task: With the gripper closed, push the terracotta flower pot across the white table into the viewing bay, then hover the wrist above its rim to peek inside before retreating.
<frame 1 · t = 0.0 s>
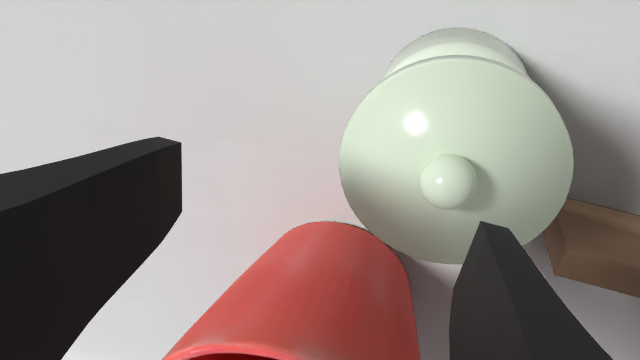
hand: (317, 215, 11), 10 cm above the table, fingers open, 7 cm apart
flower pot: (338, 278, 25), on the table
green jar: (451, 103, 19), on the table
viewing bay: (588, 354, 23), on the table
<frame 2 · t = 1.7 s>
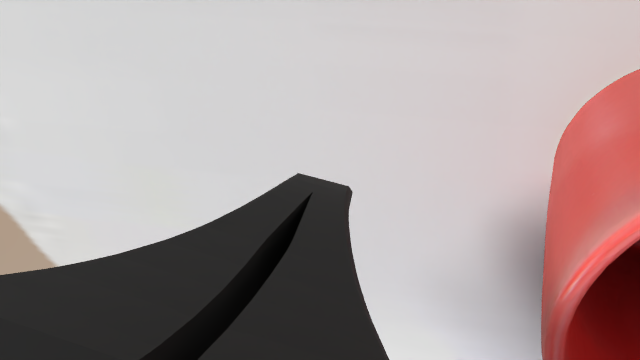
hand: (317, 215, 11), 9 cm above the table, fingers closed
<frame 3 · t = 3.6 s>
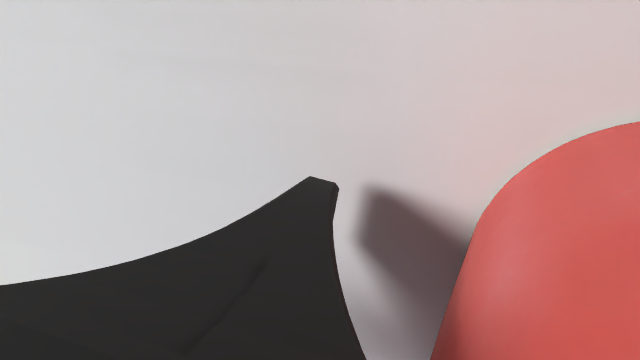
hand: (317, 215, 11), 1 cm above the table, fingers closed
flower pot: (633, 264, 11), on the table, touching gripper
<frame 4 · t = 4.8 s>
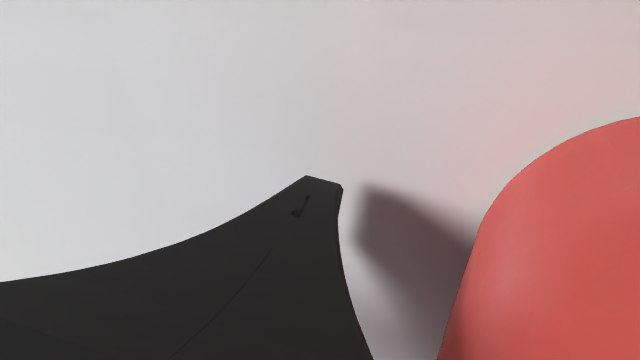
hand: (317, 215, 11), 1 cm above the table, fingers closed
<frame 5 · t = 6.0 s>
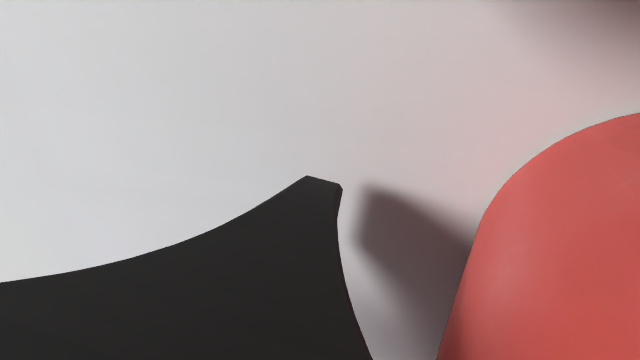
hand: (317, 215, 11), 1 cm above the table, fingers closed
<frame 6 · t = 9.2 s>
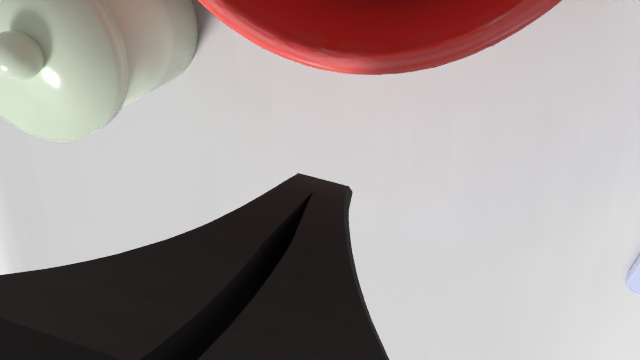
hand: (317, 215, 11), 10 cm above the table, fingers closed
green jar: (137, 19, 21), on the table
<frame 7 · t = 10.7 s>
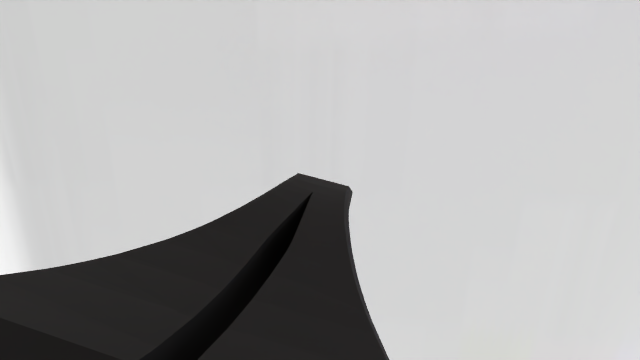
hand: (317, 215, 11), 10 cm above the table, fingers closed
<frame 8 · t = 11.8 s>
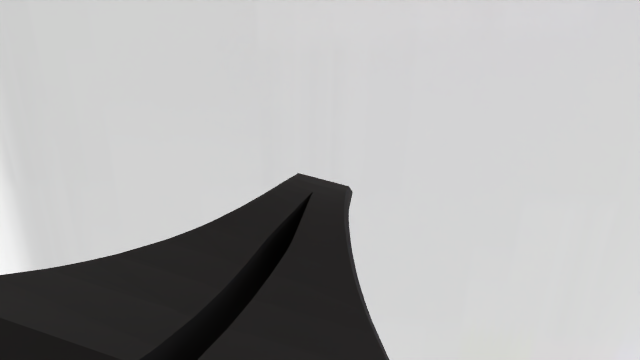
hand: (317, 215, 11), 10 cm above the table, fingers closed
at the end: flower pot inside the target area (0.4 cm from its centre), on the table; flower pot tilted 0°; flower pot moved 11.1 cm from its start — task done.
